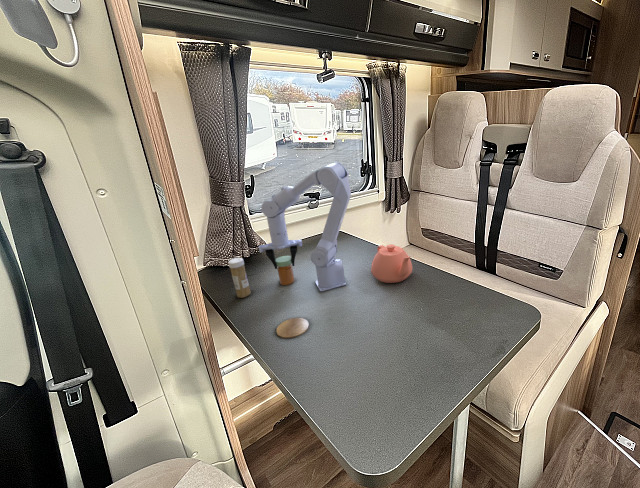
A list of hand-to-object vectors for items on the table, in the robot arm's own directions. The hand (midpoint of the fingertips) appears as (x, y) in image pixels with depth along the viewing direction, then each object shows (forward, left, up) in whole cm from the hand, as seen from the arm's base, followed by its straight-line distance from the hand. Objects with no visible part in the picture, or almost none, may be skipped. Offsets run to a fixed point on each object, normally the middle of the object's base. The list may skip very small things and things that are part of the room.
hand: (284, 266), depth 116 cm
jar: (0, 0, -6) cm, 6 cm away
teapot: (-36, +17, -6) cm, 40 cm away
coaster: (+3, +30, -6) cm, 31 cm away
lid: (0, 0, +3) cm, 3 cm away
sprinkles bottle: (+15, +2, -7) cm, 16 cm away
